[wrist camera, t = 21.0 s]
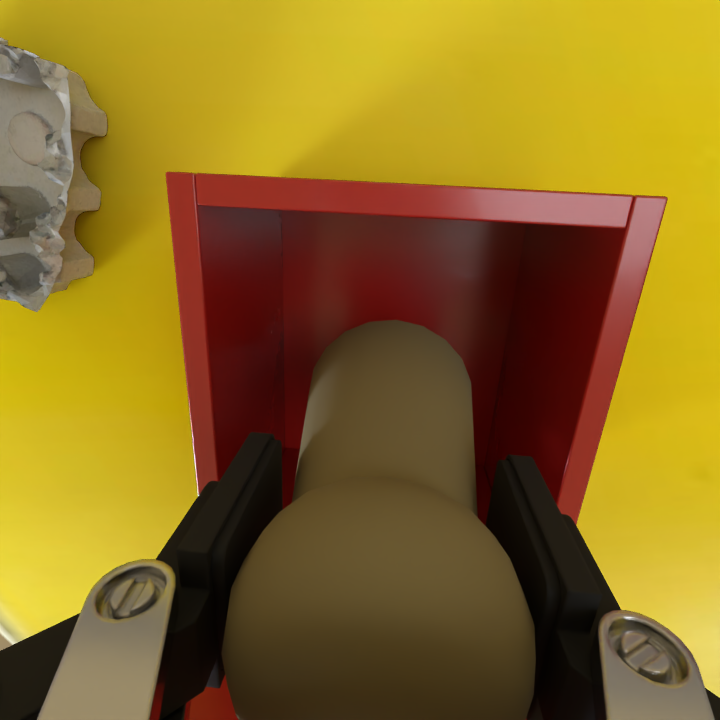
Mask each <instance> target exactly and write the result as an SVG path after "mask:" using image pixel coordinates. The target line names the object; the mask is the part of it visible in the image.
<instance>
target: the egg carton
mask: <svg viewBox="0 0 720 720" xmlns="http://www.w3.org/2000/svg"><path fill="white" fill-rule="evenodd" d="M107 127H108V125H107V116H106V114H105V112H104V111H102V110H101V109H100V108H98V107H97V106H96V104H95V103H94V102H93V101H92V99H91V98H90V96H89V94H88V91H87V89H86V86H85V82H84V81H83V79H82V78H81V77H80V76H79V75H78V74H77V73H76V72H73V71H71V70H68V69H67V68H66V67H65V66H63V65H60V64H57V63H54V62H50V61H47V60H44V59H40V57H39V56H37V55H35V54H33V53H31V52H28V51H26V50H23V49H20V48H17V47H13V46H8V41H7V40H5V39H3V38H1V37H0V299H6V300H11V301H17V302H19V303H20V304H21V305H22V306H24V307H26V308H28V309H30V310H33V311H36V312H37V311H38V310H39V309H40V308H41V307H42V305H43V303H44V302H45V300H46V299H47V297H48V296H49V294H50V293H54V292H57V291H61V290H66V289H67V287H68V285H69V283H70V282H71V280H75V279H78V278H85V277H87V276H90V275H92V274H93V269H94V258H93V256H92V255H90V254H89V253H87V252H86V251H85V250H84V248H83V247H82V246H81V244H80V243H79V242H78V241H77V240H76V237H75V235H74V227H75V221H76V218H77V217H78V215H79V214H81V213H82V212H85V211H94V210H99V206H100V204H101V201H100V198H101V191H100V189H99V188H98V187H96V186H95V185H94V184H92V183H91V182H90V181H89V180H88V178H87V175H86V174H85V172H84V171H83V169H82V167H81V160H80V151H81V148H82V147H83V145H84V143H85V141H86V140H88V139H89V138H91V137H95V136H101V137H103V136H105V135H106V134H107Z"/></svg>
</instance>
